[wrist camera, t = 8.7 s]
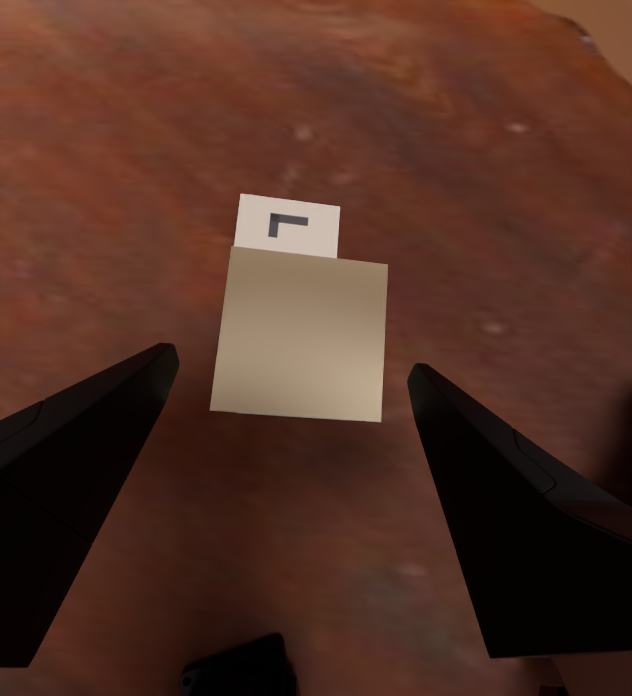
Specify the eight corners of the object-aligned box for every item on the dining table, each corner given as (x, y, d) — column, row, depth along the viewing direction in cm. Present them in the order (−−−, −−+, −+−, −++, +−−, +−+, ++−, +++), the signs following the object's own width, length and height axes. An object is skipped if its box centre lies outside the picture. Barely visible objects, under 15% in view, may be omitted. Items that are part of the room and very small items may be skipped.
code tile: (241, 197, 20) (240, 193, 19) (339, 210, 20) (340, 206, 20) (229, 292, 19) (228, 290, 18) (332, 302, 19) (333, 300, 19)
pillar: (326, 394, 18) (380, 422, 7) (264, 389, 18) (209, 410, 6) (330, 334, 19) (387, 264, 7) (270, 328, 18) (231, 245, 7)
